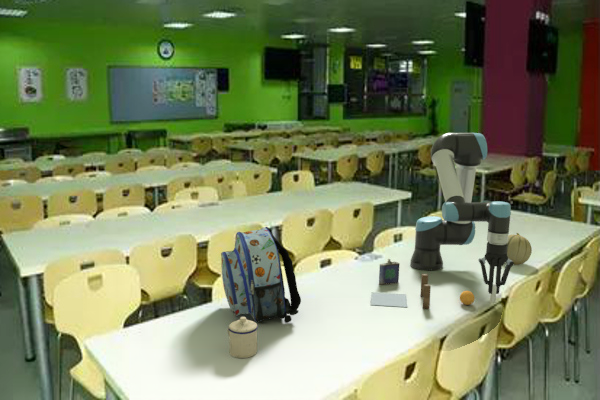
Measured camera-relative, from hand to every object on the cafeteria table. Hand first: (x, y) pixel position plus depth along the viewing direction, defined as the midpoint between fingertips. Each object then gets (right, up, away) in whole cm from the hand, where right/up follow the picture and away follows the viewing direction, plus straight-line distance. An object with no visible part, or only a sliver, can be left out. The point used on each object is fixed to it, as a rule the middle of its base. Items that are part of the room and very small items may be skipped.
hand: (492, 301), depth 218 cm
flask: (-36, +3, +25) cm, 45 cm away
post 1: (-25, 0, +10) cm, 27 cm away
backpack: (-91, -3, -7) cm, 92 cm away
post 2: (-26, -2, -2) cm, 27 cm away
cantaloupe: (+29, +8, +54) cm, 61 cm away
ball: (-10, +1, +1) cm, 10 cm away
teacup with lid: (-94, -9, -39) cm, 102 cm away
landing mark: (-39, 0, +6) cm, 40 cm away
